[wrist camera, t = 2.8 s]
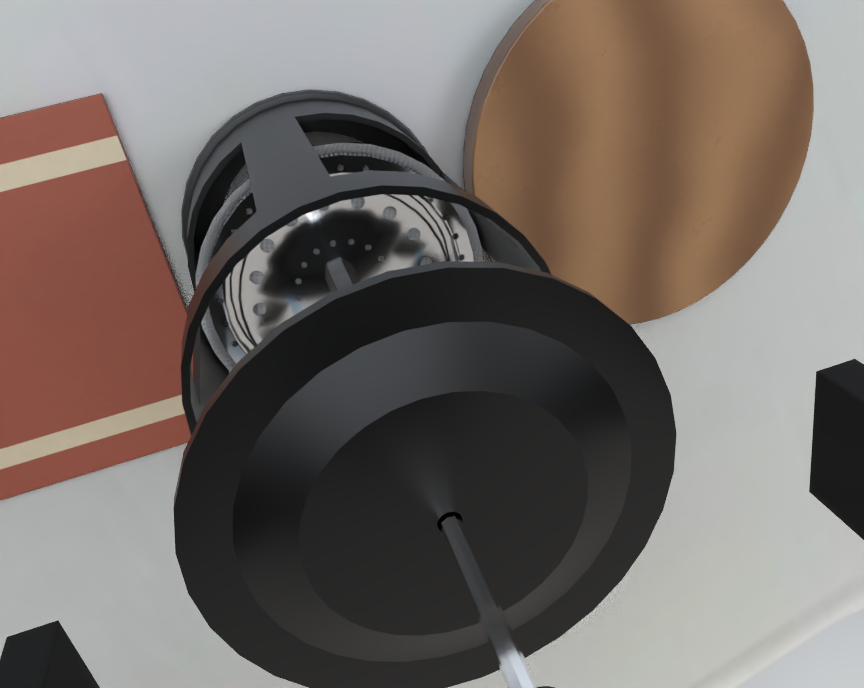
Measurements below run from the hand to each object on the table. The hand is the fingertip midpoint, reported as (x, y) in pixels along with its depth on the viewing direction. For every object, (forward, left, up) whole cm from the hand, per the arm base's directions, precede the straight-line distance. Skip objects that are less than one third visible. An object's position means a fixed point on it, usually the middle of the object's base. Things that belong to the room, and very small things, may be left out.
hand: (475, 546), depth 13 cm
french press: (0, 0, -18) cm, 18 cm away
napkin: (-12, 0, -18) cm, 21 cm away
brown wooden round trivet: (+12, 0, -18) cm, 21 cm away
